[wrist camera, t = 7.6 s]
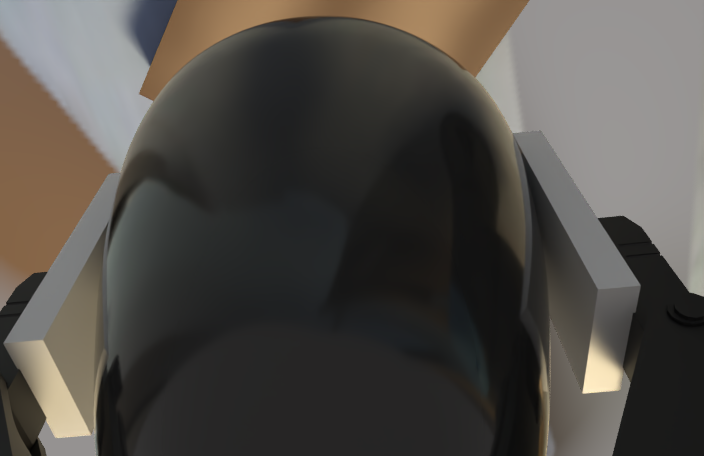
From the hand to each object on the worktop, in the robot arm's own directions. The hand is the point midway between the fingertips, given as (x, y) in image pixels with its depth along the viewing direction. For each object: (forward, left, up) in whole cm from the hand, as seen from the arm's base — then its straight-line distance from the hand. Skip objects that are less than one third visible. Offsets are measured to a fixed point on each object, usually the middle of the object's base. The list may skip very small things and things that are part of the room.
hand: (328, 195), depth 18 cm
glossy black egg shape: (0, 0, -3) cm, 3 cm away
